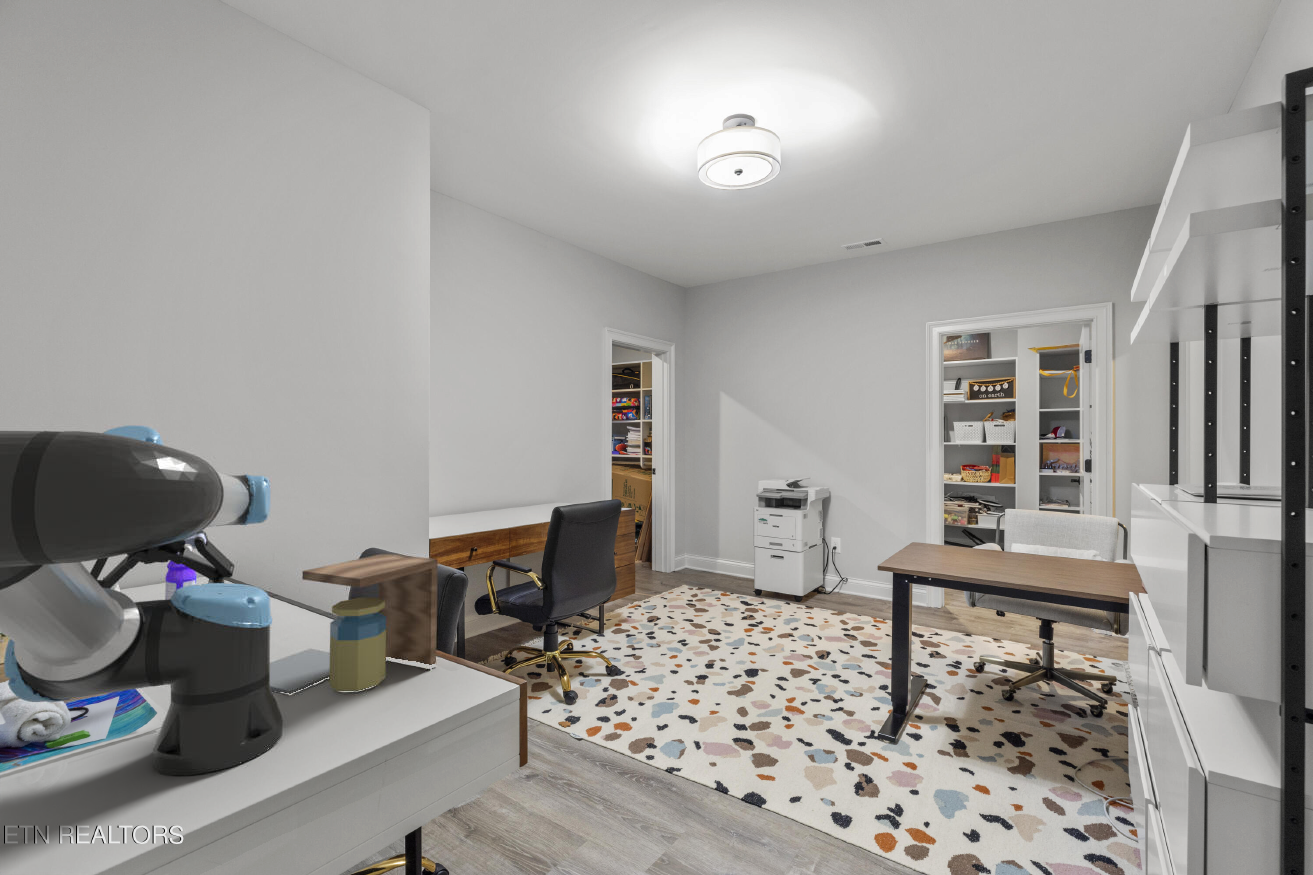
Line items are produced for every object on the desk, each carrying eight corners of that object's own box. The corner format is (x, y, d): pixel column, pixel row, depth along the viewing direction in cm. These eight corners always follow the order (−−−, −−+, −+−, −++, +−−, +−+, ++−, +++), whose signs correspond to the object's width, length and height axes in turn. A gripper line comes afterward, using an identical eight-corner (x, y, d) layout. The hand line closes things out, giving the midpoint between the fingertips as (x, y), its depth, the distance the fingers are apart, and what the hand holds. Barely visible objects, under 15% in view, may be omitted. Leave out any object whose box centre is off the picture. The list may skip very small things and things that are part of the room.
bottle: (200, 615, 148) (201, 547, 148) (172, 621, 143) (173, 550, 143) (188, 611, 152) (189, 544, 152) (160, 616, 147) (161, 547, 147)
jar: (357, 699, 102) (358, 612, 102) (317, 691, 104) (318, 607, 105) (396, 679, 110) (397, 599, 110) (358, 672, 113) (359, 595, 113)
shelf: (435, 667, 116) (437, 559, 116) (357, 705, 99) (359, 578, 99) (383, 656, 121) (384, 553, 122) (300, 691, 104) (302, 571, 105)
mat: (366, 663, 117) (366, 659, 117) (289, 695, 103) (289, 691, 103) (310, 652, 123) (310, 648, 123) (230, 680, 109) (230, 676, 109)
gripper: (243, 496, 103) (256, 586, 113) (52, 507, 92) (84, 605, 102) (236, 523, 97) (251, 614, 107) (32, 537, 86) (68, 638, 96)
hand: (170, 610), depth 105 cm, fingers open, 13 cm apart
